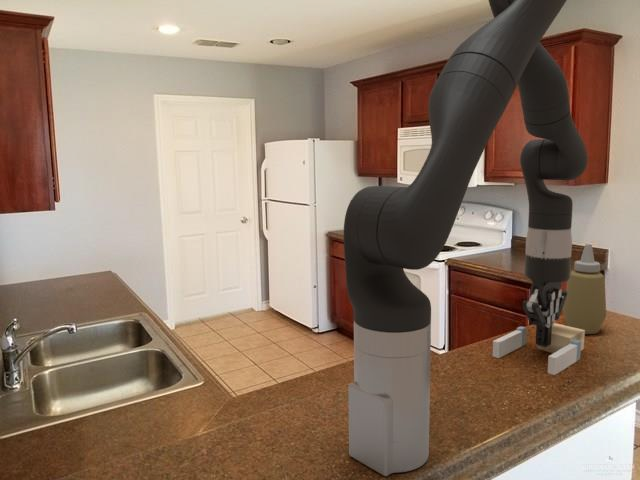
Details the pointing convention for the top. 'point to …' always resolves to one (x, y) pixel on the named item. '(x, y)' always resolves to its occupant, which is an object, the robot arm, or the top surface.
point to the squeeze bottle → (585, 295)
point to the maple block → (563, 337)
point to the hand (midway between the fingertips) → (543, 345)
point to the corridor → (555, 360)
